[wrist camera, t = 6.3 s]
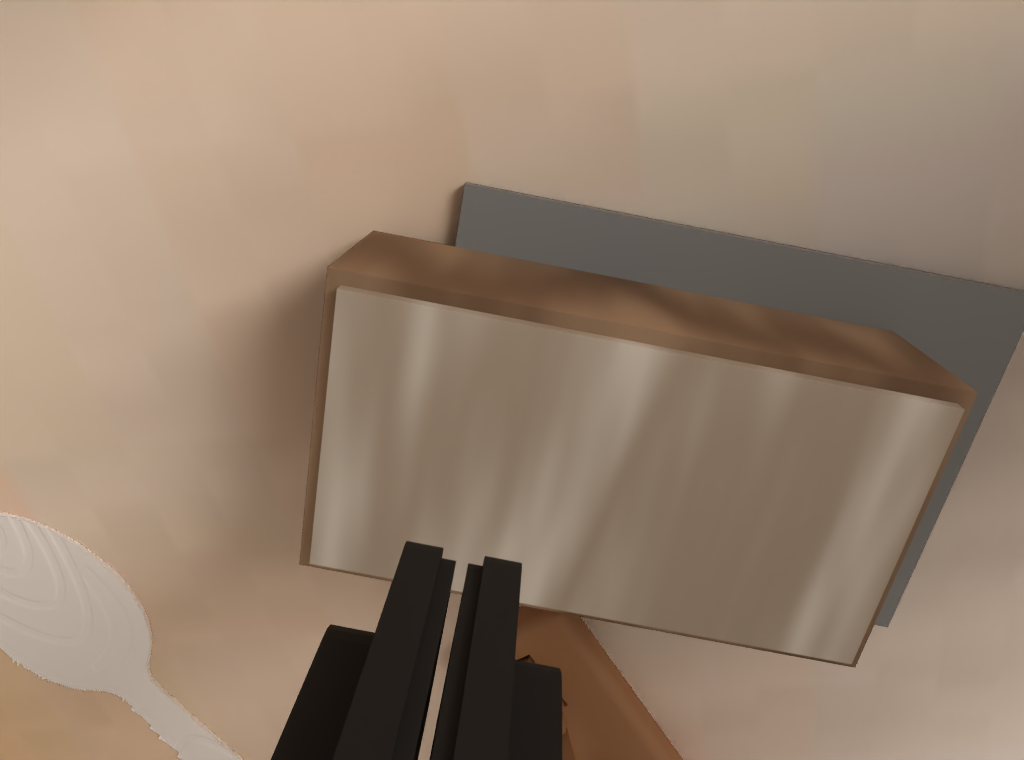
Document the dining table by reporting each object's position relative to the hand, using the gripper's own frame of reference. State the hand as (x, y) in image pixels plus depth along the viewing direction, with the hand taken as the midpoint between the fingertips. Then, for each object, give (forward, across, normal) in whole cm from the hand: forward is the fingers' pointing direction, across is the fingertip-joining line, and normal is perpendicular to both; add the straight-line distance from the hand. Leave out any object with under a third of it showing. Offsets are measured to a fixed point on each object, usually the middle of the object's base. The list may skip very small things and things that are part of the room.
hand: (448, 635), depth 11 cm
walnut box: (+8, +4, 0) cm, 8 cm away
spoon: (+10, +9, +14) cm, 20 cm away
